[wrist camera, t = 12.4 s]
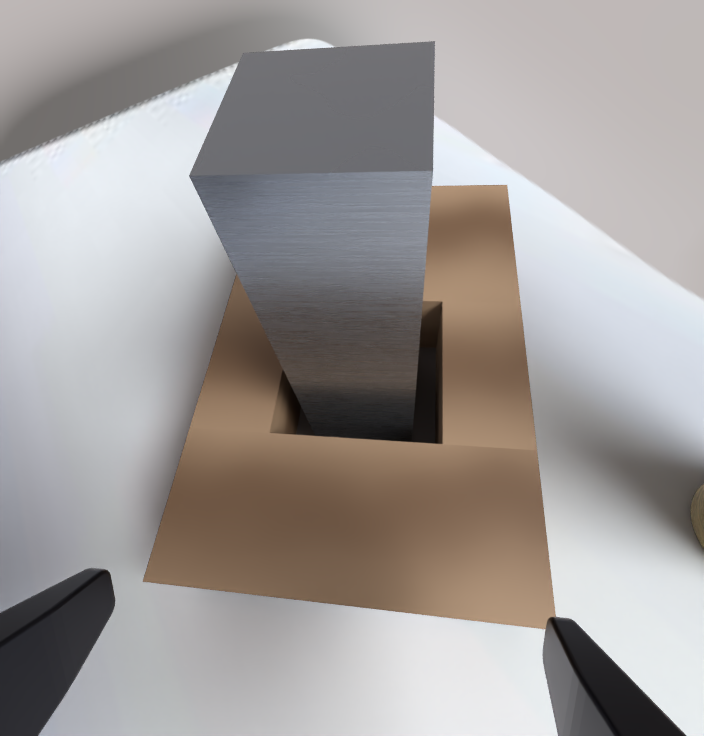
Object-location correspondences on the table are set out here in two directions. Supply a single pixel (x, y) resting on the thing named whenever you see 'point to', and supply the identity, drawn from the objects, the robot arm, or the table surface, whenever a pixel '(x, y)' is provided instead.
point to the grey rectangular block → (330, 221)
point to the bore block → (378, 458)
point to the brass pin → (698, 514)
